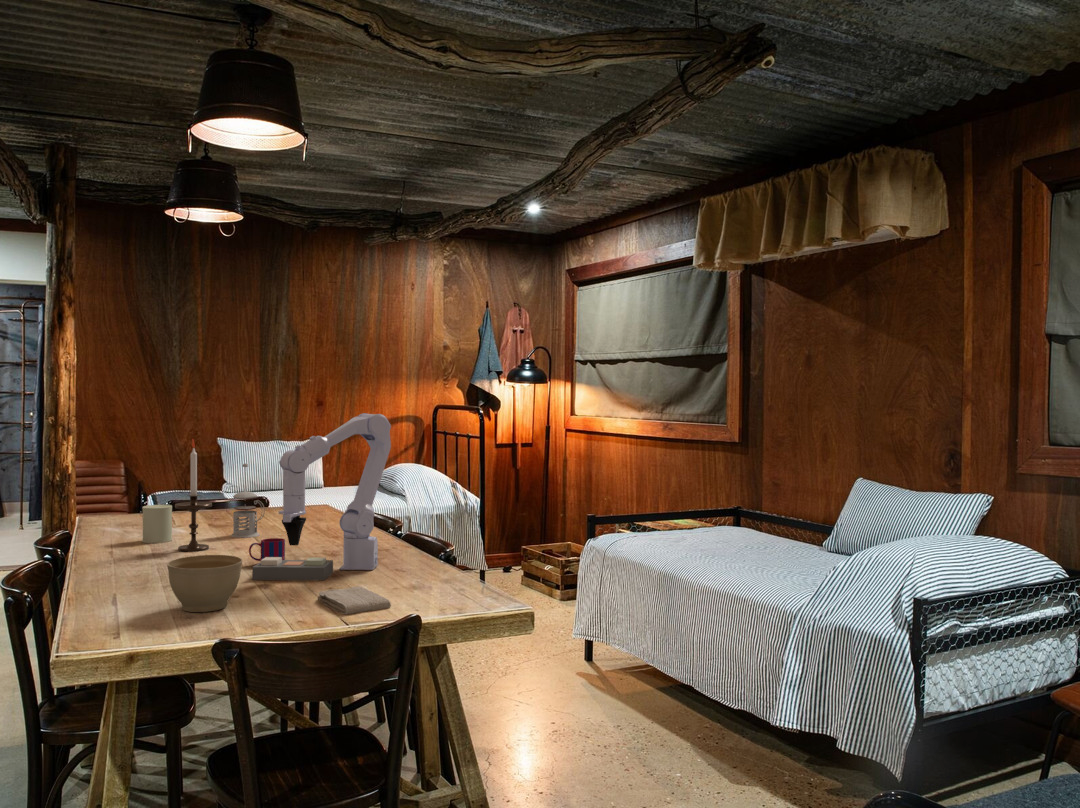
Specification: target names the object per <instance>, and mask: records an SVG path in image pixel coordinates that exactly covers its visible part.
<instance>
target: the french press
mask: <svg viewBox="0 0 1080 808" xmlns="http://www.w3.org/2000/svg"><path fill="white" fill-rule="evenodd" d="M241 467H243V468H244V489H246V483H247V482H246V471H247V469H246V468H248V467H249V465H248V463H243V464H242V466H241ZM232 498H233V499H239V500H240V499H241V500H242V499H243V500H246V499H255V498H258V495H257V494H255V493H254V492H252V491H247V490H244V491H239V492H238V493H237V492H236V493H235V494H234V495H232ZM253 503H254V505H257V504H259V505H260V508H261V510H263V513H261V514H260V517H259V518H258V511H257V510H256V508H257V507H256V506H254V505H248V506H247V505H244V506H243V505H242V506H235V507H234V510H235V511H233V518H232V519H233V520H232V521H233V528H232V529H233V531H232V532H233V533H232V534H230V538H236V539H237V538H238V539H239V538H240V539H246V538H256V537H259V536H260V533H259V532H258V522H259V521H261V520H262V519H263V517H264V516H265V510H266V509H265V505H264V503H263V502H262V501H260V500H259V499H257V500H254V501H253Z"/></svg>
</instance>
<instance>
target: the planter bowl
mask: <svg viewBox="0 0 1080 808" xmlns="http://www.w3.org/2000/svg"><path fill="white" fill-rule="evenodd" d="M242 564H243V559H242V558H241V557H240V556H239V557H238V556H235V555H227V554H201V555H194V556H193V555H192V556H191V555H190V556H185V557H179V558H178V557H177V558H174V559H172V560H169V561H168V562H167V563H166V565H167V571H168V580H169V584H170V588H171V590H172V592H173V594H174V596H175V598H177V600H178V601H179V602H180V604H181V607H182V610H183V611H186V612H189V613H207V612H208V613H209V612H214V611H219V610H222V609H225V608H226V607H227V605H228V601H229V600H230V598H231V597H232V595H234V593H235V591H236V589H237V587H238V584H239V582H240V578H241V570H242Z"/></svg>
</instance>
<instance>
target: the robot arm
mask: <svg viewBox="0 0 1080 808" xmlns="http://www.w3.org/2000/svg"><path fill="white" fill-rule="evenodd" d="M391 429H392V425H391V423H390V421H389V419H388V418H387V417H386V416H385V415H384V414H381V413H375V414H374V413H366V412H365V413H360V414H359V415H357V416H354V417H352V418H351V419H349V420H348V421H346V422H345V423H343V424H342V425H341V426H339V427H337V428H336V429H334V430H333V431H331V432H329V433H328V434H327V435H325V436H322V435H316V436H315V435H312V436H310V437H309V440H307V441H306V442H304V443H302V444H300V445H295V446H294V450H291V449H290V450H286V451H284V453H283V454H282V456H281V458H280V460H279V461H278V463H279V467H280V468H281V469H282V471H283V473H282V477H283V478H282V510H279V511H278V514H279V515H282V520H281V523H282V526H283V527H284V530H285V532H286V535H287V539H288V540H287V541H288V544H289V546H299V543H300V540H301V535H302V531H303V528H304V526H305V523H306V521H307V517H301V516H304V515H307V511H306V471H307V469H308V468H309V466H310V465H311V464H313V463H314V462H316V461H318V460H319V459H321V458H323V457H325V456H326V455H328V454H329V453H330V450H331V448H332V447H333V446H334V445H335V446H336V445H337V444H339V443H341V442H342V441H344V440H347V439H349V438H350V437H352V436H354V435H360V436H361V437H362V438H363V439H364V440H365V441H366V443H367V444H368V446H369V448H370V449H369V453H368V456H367V459H366V461H365V465H364V468H363V471H362V474H361V477H360V479H359V483H358V485H357V489H356V492H355V495H354V498H353V500H352V501H351V502H350V503H349V504H348V505H347V507H346V510H345V511H344V513H343V514H342V515H341V516H340V517H339V527H340V529H341V531H343V564H342V565H341V566H340V567H339V570H340V571H342V570H343V571H345V570H346V571H347V570H348V571H349V570H350V571H351V570H352V571H355V570H356V571H372V570H374V569H375V568H377V566H378V565H379V563H378V562H379V560H378V559H379V557H378V555H379V554H378V553H379V552H378V549H379V548H378V547H379V546H378V545H379V544H378V543H379V542H378V537H376V536H371V533H372V532H373V530H374V526H375V525H374V522H375V521H374V518H375V514H376V513H375V510H374V507H373V504H374V501H375V498H376V495H377V491H378V489H379V485H380V483H381V480H382V478H383V477H382V475H383V473H384V470H385V466H386V464H387V461H388V459H389V454H390V451H391V448H392V440H391V432H390V431H391Z"/></svg>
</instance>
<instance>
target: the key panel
mask: <svg viewBox="0 0 1080 808" xmlns="http://www.w3.org/2000/svg"><path fill="white" fill-rule="evenodd" d="M306 560H307V559H305V560H304V559H285V560H282V563H281V564H279V565H261V561H259V563H257V564H255V565H253V566H252V567H251V569H252V571H251V573H252V575H251V576H252V577H251V578H252V581H325V580H326V579H328V578H329V577H330V576H331V575H332V574H333V573H334V560H333V559H331V560H329V559H328V560H327V559H326V563H325V564H324V565H323V566H305V561H306ZM288 561H294V562H304V563H303V564H302V565H300V566H292V565H283V564H285V563H286V562H288Z"/></svg>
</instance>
